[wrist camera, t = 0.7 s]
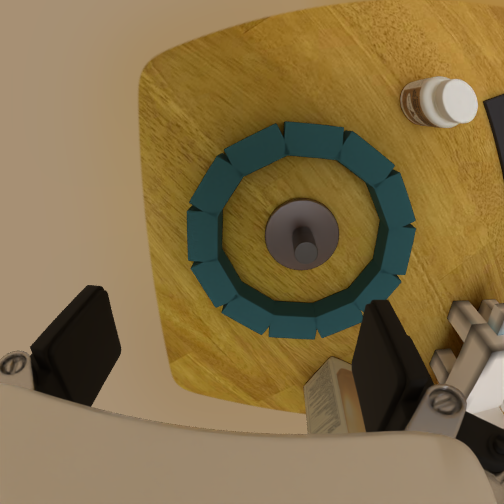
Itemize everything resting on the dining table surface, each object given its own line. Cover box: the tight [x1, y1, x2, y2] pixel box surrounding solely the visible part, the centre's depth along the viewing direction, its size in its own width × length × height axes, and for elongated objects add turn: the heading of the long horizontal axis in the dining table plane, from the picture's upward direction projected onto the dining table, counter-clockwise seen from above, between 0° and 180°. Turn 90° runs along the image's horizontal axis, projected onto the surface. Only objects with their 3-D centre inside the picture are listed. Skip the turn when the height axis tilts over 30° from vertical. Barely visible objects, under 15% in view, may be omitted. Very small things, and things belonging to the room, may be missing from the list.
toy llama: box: [430, 299, 504, 429], centre depth 25 cm, size 8×18×20 cm, turn 179°
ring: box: [187, 122, 416, 339], centre depth 29 cm, size 21×21×3 cm
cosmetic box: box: [304, 357, 366, 434], centre depth 32 cm, size 6×4×12 cm
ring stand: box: [265, 198, 339, 270], centre depth 28 cm, size 7×7×5 cm
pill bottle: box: [400, 76, 478, 128], centre depth 21 cm, size 4×4×8 cm
